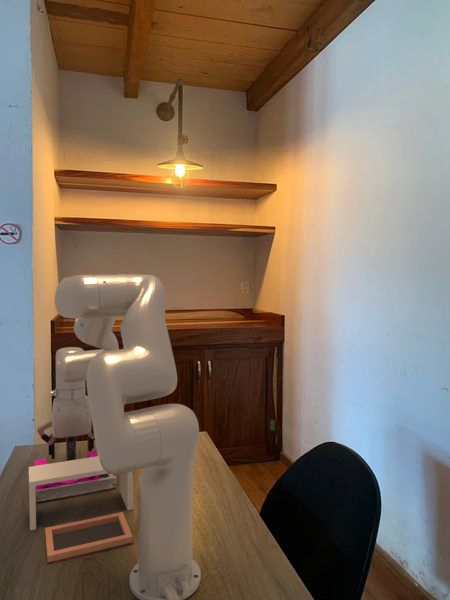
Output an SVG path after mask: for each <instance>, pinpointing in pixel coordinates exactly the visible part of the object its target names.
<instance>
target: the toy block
mask: <svg viewBox="0 0 450 600" xmlns="http://www.w3.org/2000/svg"><path fill="white" fill-rule="evenodd" d="M96 456H98V453H97V449H95V450H94V449H93V450H92V451H88V450H87V455H86V457H85V458H90V457H96ZM44 464H49V463H48V460H47V458H41V459H35V460H34V466H38V465H44ZM99 477H100V475H96V476H90V477H84V478H78V479H73V480H67V481H61V482H55V483H49V484H43V485H38V486H35V493H36V492H37V490H38V489H44V488H50V487H56V486H61V485H67V484H73V483H78V482H84V481H90V480H96V479H100V478H99Z"/></svg>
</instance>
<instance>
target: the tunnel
mask: <svg viewBox="0 0 450 600" xmlns="http://www.w3.org/2000/svg"><path fill="white" fill-rule="evenodd" d="M133 472H134V471H132V472H128V473H124V474H120V496H121V498H122V500H123V503H124V505H125V508H126V510H127V511H130V510H134V496H133V495H134V490H133V488H134V485H133V484H134V482H133V481H134V479H133V478H134V477H133V476H134V475H133V474H134V473H133ZM107 474H108V473H107V472H106V471H105V470H104V469H103V467H102V465H101V463H100V461H99V457H98V456H96V457H90V458H86V457H85V458H78V459H77V458H76V460H70V461H66V460H65V461H60V462H59V461H58V462H53V463H48V464H44V465H38V466H35V465H34V466H33V465H32V466H28V495H29V499H28V503H29V507H28V509H29V531H34V530H37V507H36V505H37V498H36V491H35V486H38V485H43V484H49V483H55V482H61V481H67V480H73V479H78V478H84V477H90V476H96V475H99V476H101V475H107Z"/></svg>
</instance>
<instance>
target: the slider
mask: <svg viewBox="0 0 450 600" xmlns="http://www.w3.org/2000/svg"><path fill="white" fill-rule="evenodd" d="M65 442H66V443H65V448H66V451H65V453H66V456H65V459H66V460H65V461H70V460H77V436H72V437H65ZM106 475H107V477H102V478H99V479H96V480H90V481H84V482H78V483H73V484H67V485H61V486H56V487H50V488H44V489H38V490H37V492H36V491H35V494H36V497H37V498H36V503H38V502H39V503H40V502H43V501H50V500H55V499H56V500H57V499H60V498H61V499H62V498H66V497H71V496H78V495H83V494H87V493H93V492H99V491H103V490H110V489H114V488H117V487H118V484H117V483H118V478H117V475H113V474H109V473H108V474H106Z"/></svg>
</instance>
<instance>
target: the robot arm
mask: <svg viewBox="0 0 450 600" xmlns="http://www.w3.org/2000/svg"><path fill="white" fill-rule="evenodd" d="M54 305H55V309H56V311H57V313H58V314H59V315H60V316H61V317H63V318H67V319H75V322H74V325H73V332H74V334H75V336H76V337H77V338H78V340H80V341H81V342H83V343H84V344H87V345H89V346H92V347H95V348H98V349H90V350H84V349H83V348H81V347H76V346H70V347H69V346H68V347H62V348H59V349H57V350H56V353H55V389H53V390H50V397H51V396H52V397H55V398H54V399H53V402H52V408H51V418H50V420H49V421H47V422H45V423H43V424H42V425H40V426H38V427H37V428H36V431H37V433H38V435H39V436H40V438H41V439H42V441H44V442H45V443H47V445H48V456H51V459H52V460H54V459H55V458H56V457H55V455H56V454H55V450H56V449H55V448H56V447H55V446H56V445H55V441H56V439H62V438H64V439H65V438H66V437H72V436H76V437H78V436H79V437H80V436H84V435H87V452H88V451H93V450H94V449H95V448H96V452H97V454H98V457H99V461H100V463H101V465H102V467H103V469H104V470H105V471H106V472H107V473H109V474H113V476H117V475H121V474H124V473H128V472H132V471H133V472H136V471H138V470H142V469H143V471H142V473H141V475H140V479H139V482H138V489H137V490H138V493H137V495H138V496H137V517H138V518H137V519H138V520H137V525H138V527H137V530H138V531H137V535H138V536H137V538H138V539H137V540H138V541H137V542H138V543H137V544H138V545H137V548H138V549H137V550H138V551H137V552H138V553H137V555H138V556H137V558H138V559H137V561H138V562H137V563H136V564H135V565H134V567H132V569H131V571H130V573H129V577H128V579H129V581H128V582H129V589H130V591H131V594H133V595H134V596H135V598H137V599H139V600H186V599H188V598H189V597H190V596H192V595H193V594H194V593H195V592H196V591H197V590H198V588H199V587H200V583H201V581H202V579H201V578H202V572H201V567H200V565H199V564H198V562H197V561H196V560H194V559H193V495H194V492H193V491H194V489H193V488H194V468H195V459H196V452H197V448H198V445H199V444H198V443H199V439H200V426H199V421H198V418H197V416H196V413H195V412H194V410H192V409H191V408H189V407H188V406H186V405H184V404H180V403H167V404H166V403H165V404H160V405H154V406H150V407H144V408H140V409H136V410H130V411H126V412H125V405H128V404H134V403H140V402H145V401H151V400H155V399H160V398H163V397H166V396H169V395H170V394H173V392H174V391H175V390H176V388H177V387H178V385H177V384H178V373H177V372H178V371H177V367H176V362H175V357H174V352H173V350H172V344H171V339H170V336H169V331H168V327H167V322H166V291H165V287H164V285H163V283H162V282H161V280H160V278H158V277H157V276H155V275H152V274H144V273H143V274H142V273H141V274H138V273H136V274H134V273H131V274H129V273H127V274H126V273H122V274H121V273H118V274H79V275H78V274H77V275H73V276H68V277H64V278H63V279H62V280H60V282H59V283H58V285H57V287H56V290H55V294H54ZM118 317H119V318H120V317H123V318H122V321H121V323H120V335H121V339H122V345H123V348H121V349H120V348H119V347H120V346H119V342H118V339H117V337H116V335H115V333H114V332H113V331H112V330H113V327H114V325H115V322H116V321H117V318H118ZM86 392H87V395H86ZM50 427H51V428H50ZM49 428H50V429H51V433H50V434H49V435H48V434H46V432H45V431H46V430H47V429H49ZM95 446H96V447H95Z"/></svg>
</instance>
